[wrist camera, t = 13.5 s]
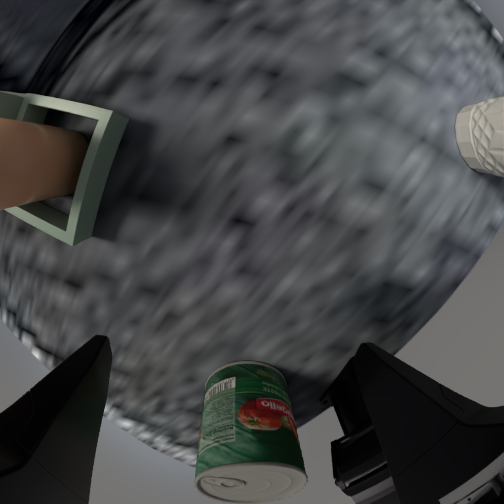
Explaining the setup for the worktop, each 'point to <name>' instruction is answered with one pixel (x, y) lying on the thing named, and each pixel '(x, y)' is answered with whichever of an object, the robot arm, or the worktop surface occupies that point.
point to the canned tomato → (248, 437)
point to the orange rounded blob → (38, 162)
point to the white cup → (482, 135)
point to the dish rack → (91, 173)
